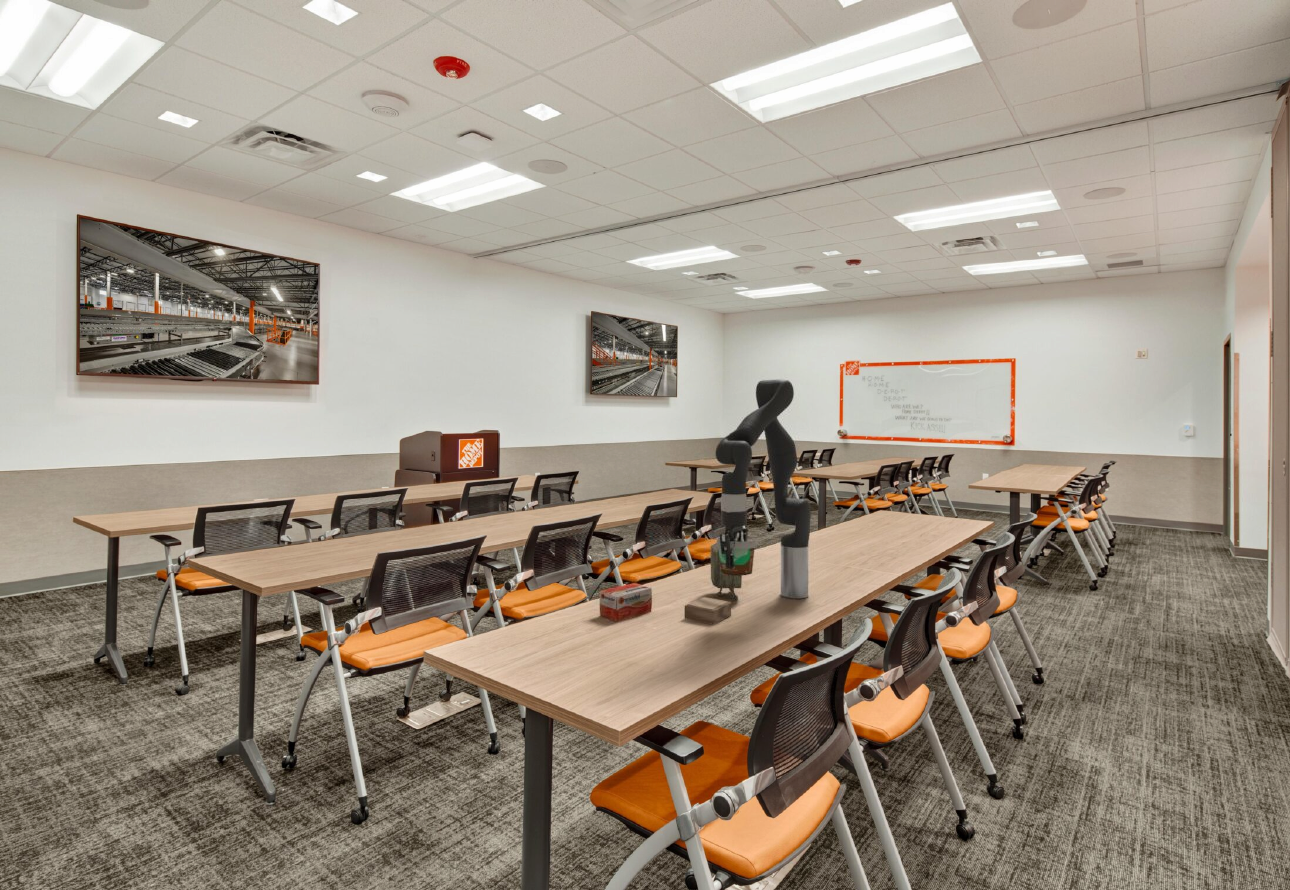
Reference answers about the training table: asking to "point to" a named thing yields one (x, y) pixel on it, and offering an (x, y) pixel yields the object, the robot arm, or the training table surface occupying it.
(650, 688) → the training table surface
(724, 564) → the food container
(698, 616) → the plinth
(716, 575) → the tabletop clock
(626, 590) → the medicine box
